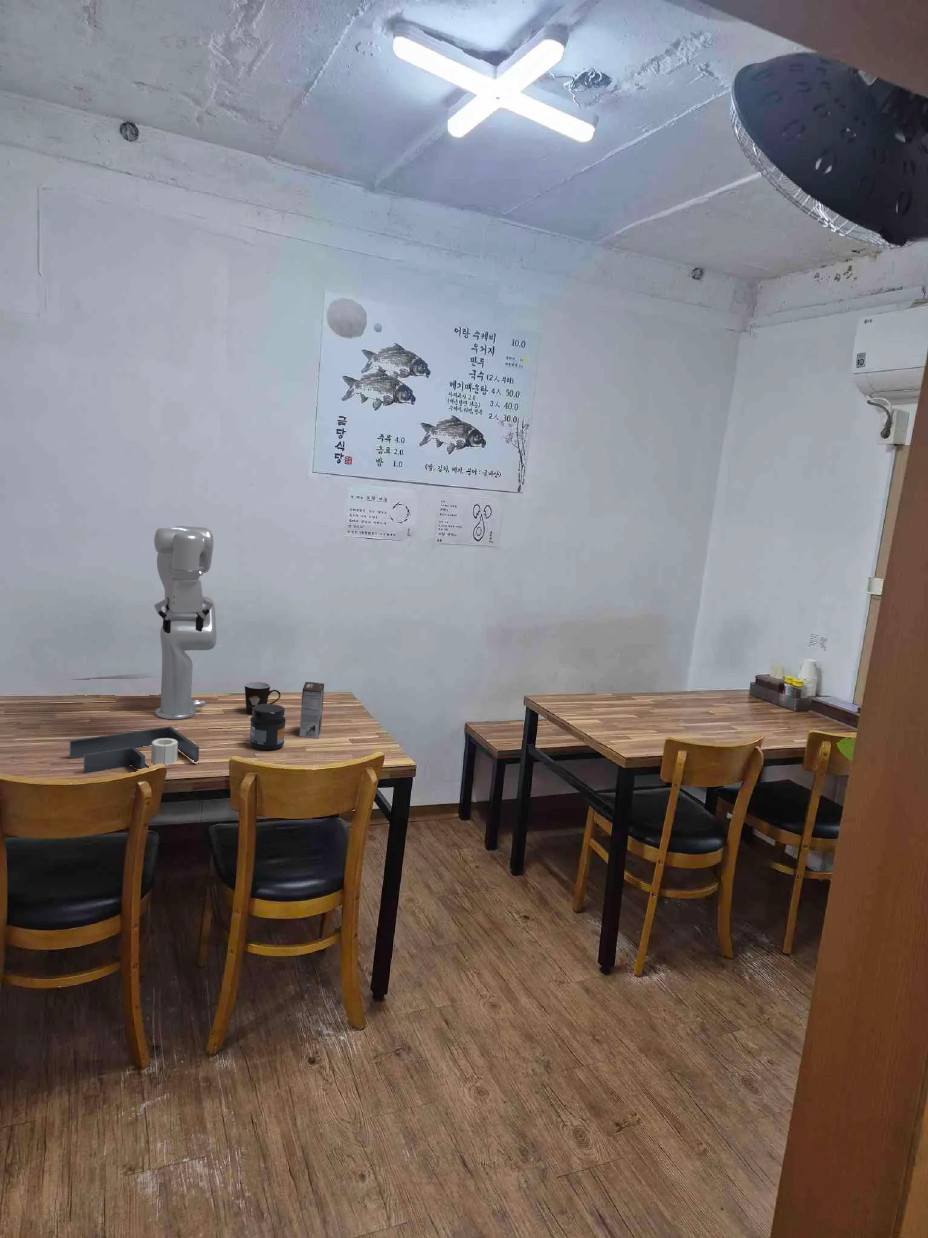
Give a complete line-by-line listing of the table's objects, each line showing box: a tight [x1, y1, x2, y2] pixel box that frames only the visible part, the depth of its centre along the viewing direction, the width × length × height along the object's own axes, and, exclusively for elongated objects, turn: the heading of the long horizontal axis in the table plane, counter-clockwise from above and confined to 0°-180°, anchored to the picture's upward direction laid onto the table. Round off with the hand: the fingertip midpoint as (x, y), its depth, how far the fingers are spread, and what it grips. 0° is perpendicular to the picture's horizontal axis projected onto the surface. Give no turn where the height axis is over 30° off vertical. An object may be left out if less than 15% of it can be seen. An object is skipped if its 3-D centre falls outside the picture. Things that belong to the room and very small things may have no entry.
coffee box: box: [299, 681, 325, 739], centre depth 251 cm, size 9×6×16 cm
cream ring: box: [150, 738, 178, 766], centre depth 214 cm, size 6×6×6 cm
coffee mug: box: [244, 681, 281, 716], centre depth 265 cm, size 12×9×10 cm
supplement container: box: [248, 703, 287, 751], centre depth 236 cm, size 10×10×12 cm
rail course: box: [69, 726, 200, 774], centre depth 214 cm, size 28×20×5 cm
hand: (183, 631), depth 230 cm, fingers open, 9 cm apart
